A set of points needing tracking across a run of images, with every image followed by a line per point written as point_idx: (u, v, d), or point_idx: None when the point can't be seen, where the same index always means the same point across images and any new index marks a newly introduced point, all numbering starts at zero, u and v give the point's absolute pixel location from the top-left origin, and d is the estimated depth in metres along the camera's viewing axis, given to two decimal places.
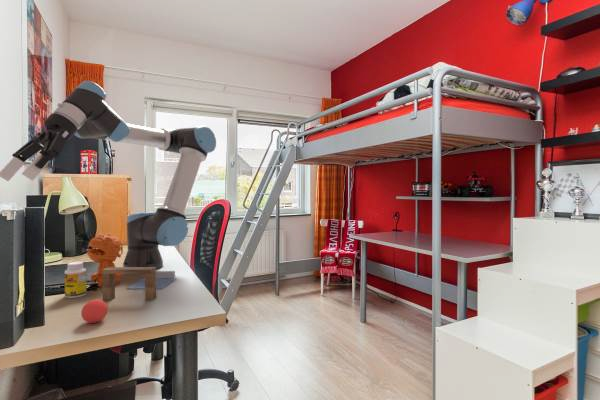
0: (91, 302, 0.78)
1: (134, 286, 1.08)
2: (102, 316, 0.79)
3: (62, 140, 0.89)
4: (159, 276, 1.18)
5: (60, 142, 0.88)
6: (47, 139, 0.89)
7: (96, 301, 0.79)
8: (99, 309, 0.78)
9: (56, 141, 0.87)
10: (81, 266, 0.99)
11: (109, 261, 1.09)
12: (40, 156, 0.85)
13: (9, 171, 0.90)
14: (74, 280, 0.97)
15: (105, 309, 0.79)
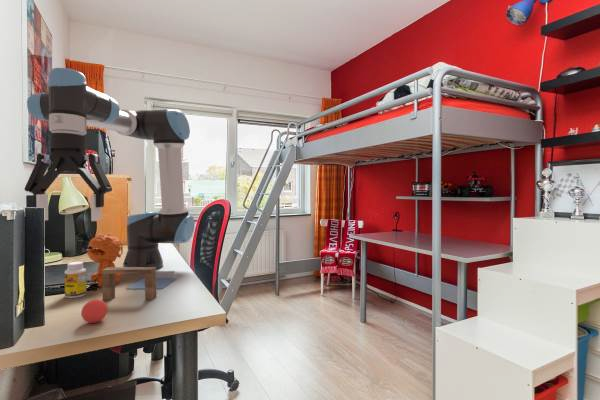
0: (91, 302, 0.78)
1: (134, 286, 1.08)
2: (102, 316, 0.79)
3: (100, 168, 0.80)
4: (159, 276, 1.18)
5: (101, 171, 0.80)
6: (80, 170, 0.78)
7: (96, 301, 0.79)
8: (99, 309, 0.78)
9: (100, 174, 0.79)
10: (81, 266, 0.99)
11: (109, 261, 1.09)
12: (95, 196, 0.79)
13: None
14: (74, 280, 0.97)
15: (105, 309, 0.79)
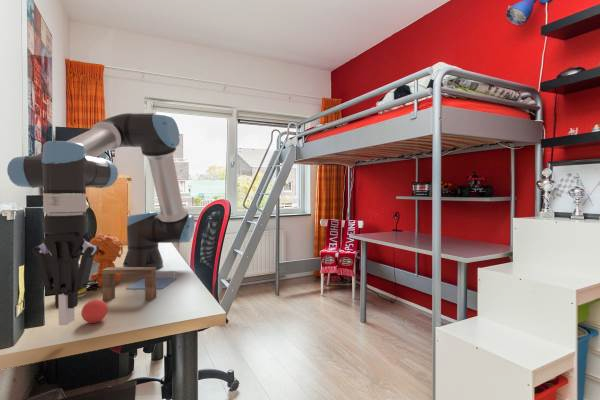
0: (91, 302, 0.78)
1: (134, 286, 1.08)
2: (102, 316, 0.79)
3: (90, 262, 0.70)
4: (159, 276, 1.18)
5: (88, 266, 0.70)
6: (68, 262, 0.68)
7: (96, 301, 0.79)
8: (99, 309, 0.78)
9: (84, 271, 0.69)
10: None
11: (109, 261, 1.09)
12: (66, 296, 0.69)
13: None
14: None
15: (105, 309, 0.79)
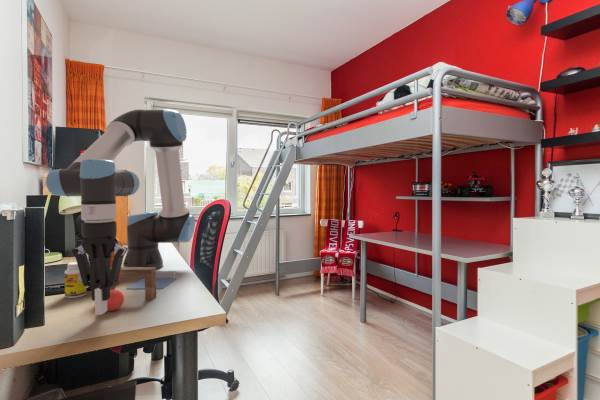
0: None
1: (134, 286, 1.08)
2: (121, 295, 0.87)
3: (120, 261, 0.82)
4: (159, 276, 1.18)
5: (119, 265, 0.82)
6: (103, 261, 0.80)
7: None
8: None
9: (116, 269, 0.81)
10: None
11: None
12: (101, 290, 0.81)
13: None
14: (74, 280, 0.97)
15: (123, 300, 0.88)
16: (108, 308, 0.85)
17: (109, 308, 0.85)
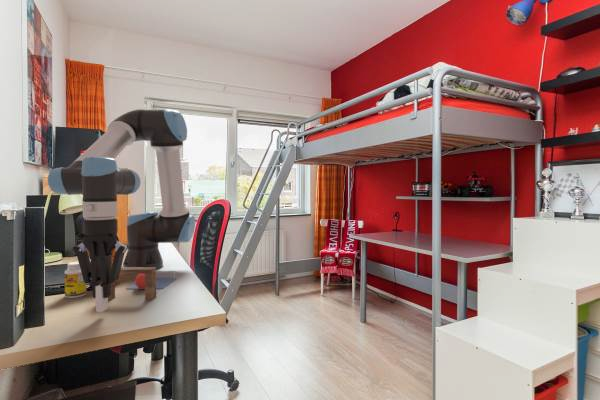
0: None
1: (134, 286, 1.08)
2: None
3: (121, 259, 0.82)
4: (159, 276, 1.18)
5: (120, 262, 0.82)
6: (104, 258, 0.81)
7: None
8: None
9: (117, 266, 0.81)
10: None
11: None
12: (102, 287, 0.81)
13: None
14: (74, 280, 0.97)
15: None
16: (141, 282, 1.04)
17: (141, 282, 1.04)
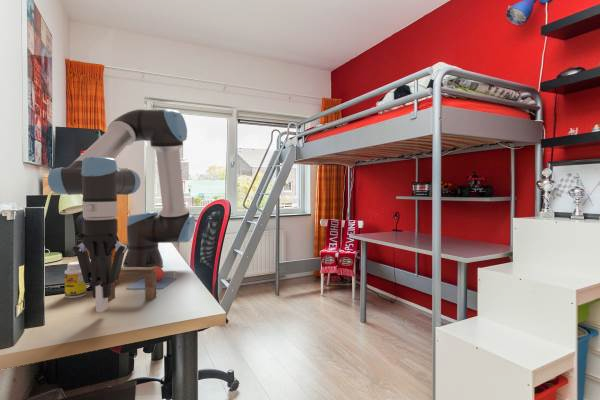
0: None
1: (134, 286, 1.08)
2: (161, 277, 1.14)
3: (121, 259, 0.82)
4: None
5: (120, 262, 0.82)
6: (104, 258, 0.81)
7: None
8: (158, 273, 1.13)
9: (117, 266, 0.81)
10: None
11: None
12: (102, 287, 0.81)
13: None
14: (74, 280, 0.97)
15: (162, 273, 1.14)
16: None
17: None
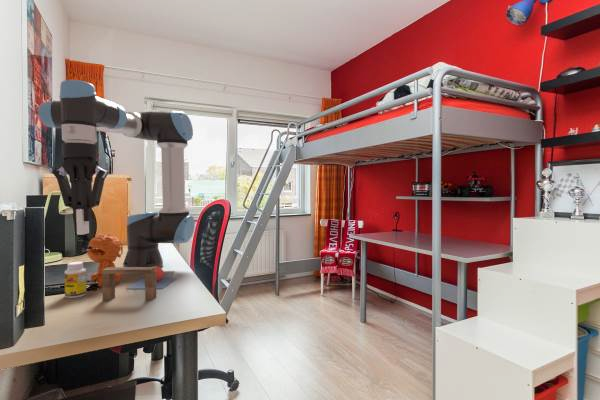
0: None
1: (134, 286, 1.08)
2: (161, 277, 1.14)
3: (101, 183, 0.84)
4: None
5: (100, 187, 0.84)
6: (84, 182, 0.82)
7: None
8: (158, 273, 1.13)
9: (97, 190, 0.83)
10: (81, 266, 0.99)
11: (109, 261, 1.09)
12: (83, 210, 0.83)
13: None
14: (74, 280, 0.97)
15: (162, 273, 1.14)
16: None
17: None
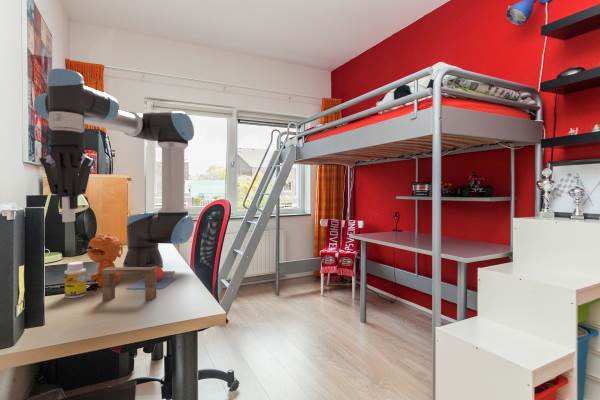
0: None
1: (134, 286, 1.08)
2: (161, 277, 1.14)
3: (87, 171, 0.85)
4: None
5: (86, 175, 0.84)
6: (70, 169, 0.83)
7: None
8: (158, 273, 1.13)
9: (83, 178, 0.83)
10: (81, 266, 0.99)
11: (109, 261, 1.09)
12: (68, 198, 0.83)
13: None
14: (74, 280, 0.97)
15: (162, 273, 1.14)
16: None
17: None
